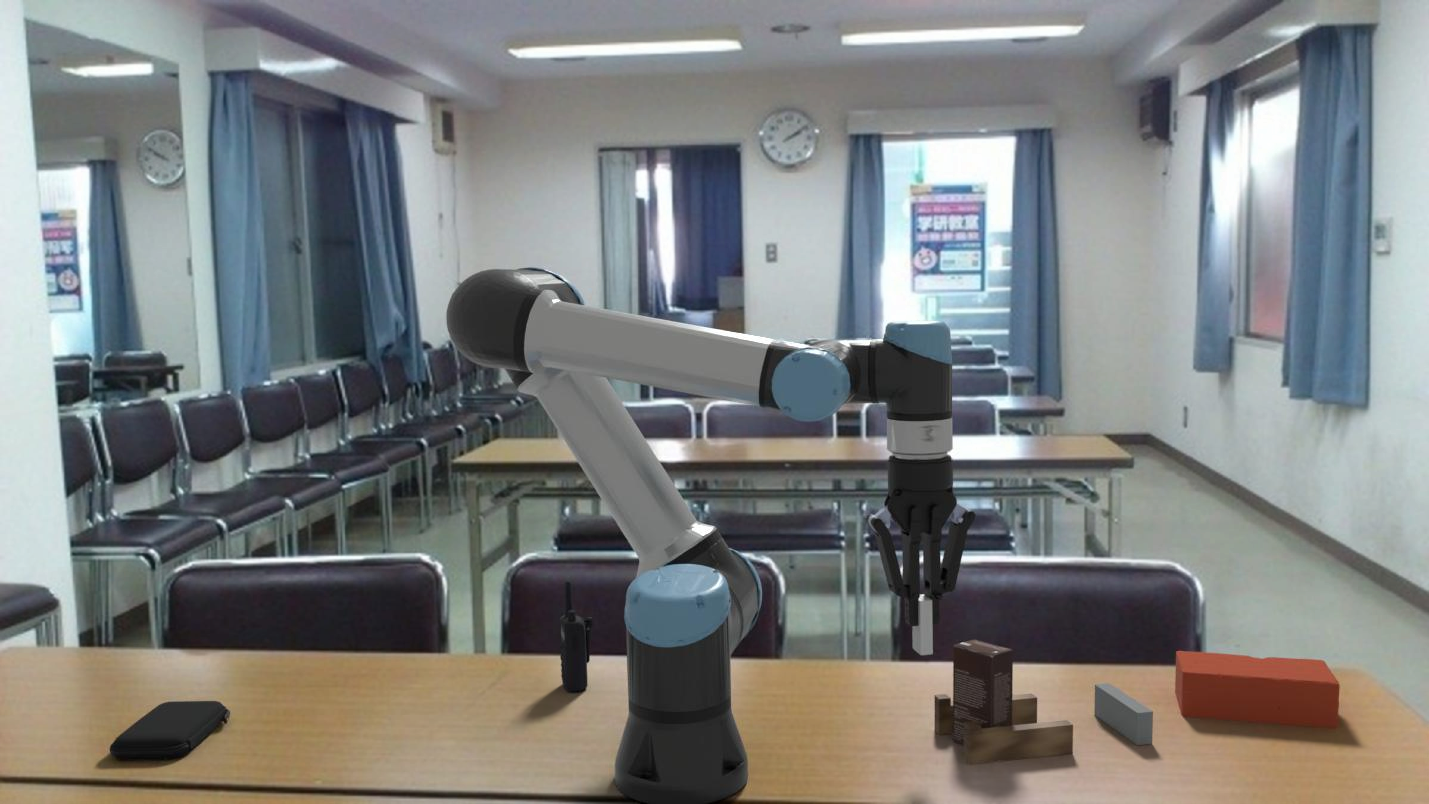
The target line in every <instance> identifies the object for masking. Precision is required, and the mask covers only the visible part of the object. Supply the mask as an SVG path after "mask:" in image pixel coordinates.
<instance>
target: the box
mask: <svg viewBox="0 0 1429 804" xmlns="http://www.w3.org/2000/svg"><path fill="white" fill-rule="evenodd" d="M952 651H953V654H952V656H953V657H952V658H953V659H952V660H953V661H952V663H953V666H952V667H953V668H952V669H953V670H952V671H953V672H952V675H953V676H952V677H953V679H952V680H953V681H952V689H953V690H952V693H953V694H952V697H953V698H952V701H953V733H952V740H953V741H954V742H957V743H959V744H963V745H964V722H970V721H977V722H978V723H979V724H980V725H981V729H983V728H993V727H1003V726H1012V695H1013V678H1014V677H1013V676H1014V675H1013V673H1014V672H1013V671H1014V669H1013V667H1014V664H1013V662H1014V661H1013V660H1014V657H1013V656H1014V655H1013V651H1014V650H1013V649H1012V648H1010V647H1009V648H1008V647H1004V646H1000V645H996V644H992V643H989V642H985V641H982V640H979V639H971V640H967V641H962V642H960V643H956V644H954V645H953V647H952Z"/></svg>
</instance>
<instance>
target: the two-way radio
mask: <svg viewBox="0 0 1429 804" xmlns="http://www.w3.org/2000/svg"><path fill="white" fill-rule="evenodd" d="M572 594H573V593H572V583H571V581H570V579H569V580H565V582H564V609H565V611H564V614H563V615H562V616H560V618H559V630H560V632H559V633H560V644H559V647H560V662H561V663H560V668H561V669H560V671H561V673H560V675H561V682H562V685H563V687H564V688H565V690H566V691H568V692H570V691H572V692H573V691H574V692H581V690H582V691H583V690H585V689H586V688H588V681H589V680H588V663H590V661H591V660H590V657H591V656H590V655H591V654H590V638H591V637H590V636H591V631H592V628H593V626H594V621H593V620H594V619H593V617H592V616H587V617H586V619H584V618H583V617H581V616H579V615H576V611H575V610H574V609H573V596H572ZM572 692H571V693H572Z"/></svg>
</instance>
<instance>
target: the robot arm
mask: <svg viewBox="0 0 1429 804" xmlns="http://www.w3.org/2000/svg"><path fill="white" fill-rule="evenodd" d="M445 313H446V315H445V316H446V317H445V320H446V328H447V332H448V334H449V335H448V336H449V338H450V339H451V342H452V343H453V345H454V347H455V348H456V349H457V351H458V352H459V353H460V354H461V355H462V356H463V357H465V358H466V359H468V360H469V361H470V362H471V363H474V364H476V365H479V366H482V367H485V368H490V369H504V371H505V372H506V374H507V376H508V377H509V378H510V380H511V382H512V383H513V385H514V386H515V388H516V389H517V391H518V392H519V393H520V394H521V393H522V394H525V395H529V396H533V397H535V398H537V400H538V401H539V402H540V404H541V406H542V408H543V409H544V411H545V413H547V415H548V417H549V418H550V420H551V421H552V423H553V425H554V426H555V428H556V429H557V431H558V433H559V435H560V436H561V437H562V439H563V441H564V443H565V444H566V445H567V447H568V449H569V450H570V452H571V453H572V455H573V456H574V458H575V460H576V461H577V463H578V464H579V466H580V468H581V469H582V471H583V472H584V474H585V476H586V477H587V479H588V480H589V482H590V484H591V485H592V486H593V489H595V491H596V494H598V496H599V497H600V499H601V501H602V502H603V503H604V505H605V507H606V509H607V510H608V512H609V513H610V514H611V516H612V518H613V519H614V521H615V523H616V524H617V526H618V528H619V529H620V531H621V532H622V533H623V536H624V537H625V538H626V539H627V542H628V544H629V545H630V547H631V548H632V549H633V552H634V553H635V555H636V556H637V557H638V558H637V559H638V561H639V563H638V567H637V572H636V577H635V579H633V580H632V582H631V583H630V585H629V586H628V588H627V590H626V595H625V606H624V615H623V619H624V624H625V637H626V638H625V639H626V640H625V641H626V643H625V644H626V667H627V669H626V670H627V695H628V717H627V720H626V722H625V726H624V728H623V729H624V730H623V732H622V736H621V740H620V743H619V746H618V749H617V752H616V756H615V760H614V780H615V786H616V787H617V789H618V790H619V791H620V792H621V793H622V794H623V795H625V796H626V797H629V798H631V799H633V800H635V801H638V802H640V803H641V802H642V803H645V804H710V803H714V802H719V801H721V800H723V799H727V798H728V797H730V796H733V795H734V794H737V792H739V791H740V790H742V788H744V786H745V785H746V783H747V782H748V780H749V779H748V778H749V765H748V763H749V761H748V760H749V759H748V756H747V755H748V754H747V751H746V748H745V746H744V742H743V740H742V737H741V733H740V732H739V728H738V726H737V723H736V720H735V717H734V714H733V711H732V680H731V679H732V678H731V677H732V675H731V673H732V672H731V671H732V670H731V667H732V666H731V658H732V657H731V656H732V654H733V652H734V651H735V649H736V648H737V647H738V646H739V644H740V642H741V641H742V640H743V639H744V638H745V637H746V636H747V635H748V634H749V633H750V632H751V630H752V629H754V628H753V627H754V626H755V624H756V623H757V620H758V616H759V612H760V610H761V608H762V607H761V606H762V601H763V599H762V598H763V588H762V583H761V579H760V577H759V576H760V575H759V573H758V572H757V569H756V568H755V566H754V565H753V563H752V562H751V561H750V560H749V559H748V558H747V557H746V556H745V555H743V553H740V551H737V550H735V549H733V548H730V547H729V546H728V544H727V543H726V541H725V540H724V538H723V536H722V535H721V533H720V532H719V530H718V529H717V527H716V526H715V525H711V524H706V523H702V522H700V521H697V518H696V517H695V515H694V514H693V512H692V510H691V509H690V508H689V506H688V505H687V503H686V501H685V500H684V498H683V497H682V494H681V493H680V491H679V490H678V488H677V486H675V484H674V482H673V481H672V479H671V477H670V476H669V474H668V473H667V471H666V469H665V468H664V466H663V465H662V464H661V461H660V460H659V459H658V457H657V455H656V454H655V453H654V451H653V449H652V447H651V446H650V445H649V443H648V441H647V440H646V439H645V436H644V435H643V433H642V432H641V430H640V429H639V427H638V426H637V424H636V422H635V421H634V419H633V417H632V416H631V414H630V412H628V410H627V408H626V407H625V405H624V404H623V402H622V401H621V399H620V398H619V396H618V394H617V392H616V390H615V389H614V388H613V386H612V384H611V383H610V381H609V380H608V379H611V380H616V381H622V382H625V383H626V382H627V383H633V384H638V385H643V386H647V387H653V388H658V389H663V390H671V391H675V392H680V393H686V394H689V395H690V394H691V395H695V396H701V397H706V398H713V399H719V400H722V401H728V402H734V403H739V404H742V405H743V404H744V405H751V406H755V407H761V408H763V409H764V408H765V409H768V410H771V411H777V412H782V413H784V414H785V415H787V416H788V417H790V418H791V419H794V420H796V421H800V422H817V421H818V422H819V421H822V420H825V419H828V418H829V417H830V416H833V415H834V414H836V413H837V412H839V410H840V409H841V408H842V407H843V406H844V405H850V404H851V405H853V404H876V405H877V404H885V406H886V450H887V451H888V452H889V453H891V454H890V455H889V456H888V458H887V490H888V491H887V496H886V498H885V500H884V504H883V505H884V506H883V508H881V509H880V510H879V511H878V512H875V514H871V513H870V514H867V515H866V518H865V522H866V523H867V524H868V526H869V528H870V529H871V530H872V532H873V533H874V536H875V541H876V544H877V548H878V552H879V555H880V556H879V557H880V560H881V563H882V567H883V570H884V575H885V580H886V584H887V586H888V589H889V591H891V592H892V593H893V594H895V595H896V596H897V597H902V598H904V620H905V623H906V624H907V625H908V626H910V627H911V628H912V629H911V630H912V635H911V636H912V649H913V650H914V651H915V653H917V654H918V655H920V656H928V655H930V656H931V655H933V654H934V649H933V648H934V646H933V645H934V642H933V641H934V640H933V637H934V636H933V627H934V626H933V625H938V624H939V622H940V619H941V617H940V601H941V600H942V599H944V598H943V597H944V595H945V594H946V593H948V592H949V593H952V592H954V590H955V589H956V586H957V585H956V584H957V581H958V577H959V572H960V567H961V562H962V558H963V553H964V549H965V546H966V545H965V543H966V539H967V536H968V531H969V529H970V528H971V526H972V525H973V523H974V521H975V519H976V513H975V511H973V510H971V509H969V508H966V507H965V506H964V507H963V506H962V505H960V504H959V503H958V500H957V496H956V495H955V494H954V493H955V492H954V490H953V487H954V459H953V457H952V456H951V455H950V454H948V453H950V452H952V451H953V444H954V442H953V441H954V439H953V357H952V356H953V355H952V354H953V352H952V339H951V337H952V336H951V329H950V327H949V326H948V325H947V324H946V323H945V322H943V321H941V320H940V321H939V320H907V321H906V320H903V321H902V320H899V321H891V322H888V323H887V324H886V325H885V331H884V334H883V337H882V338H876V339H875V338H873V339H817V338H810V339H805V340H794V341H785V340H778V339H772V338H767V337H762V336H755V335H751V334H745V333H740V332H734V331H733V332H732V331H728V330H724V329H717V328H711V327H708V326H707V327H705V326H701V325H695V324H690V323H689V324H688V323H685V322H677V321H674V320H673V321H672V320H666V319H662V318H658V317H657V318H656V317H650V316H644V315H639V314H634V313H628V312H621V311H617V310H611V309H606V308H600V307H594V306H589V305H586V304H585V300H584V299H583V296H582V294H581V293H580V291H579V289H577V287H576V286H575V285H574V284H573V283H572V282H571V281H570V280H568V278H566V277H564V276H563V275H561V274H560V273H559V274H558V273H557V272H554V271H551V270H547V269H546V268H540V267H539V268H538V267H532V266H531V267H530V266H529V267H522V268H521V267H520V268H515V269H510V268H509V269H505V268H504V269H502V268H501V269H500V268H493V269H491V268H490V269H486V270H485V269H484V270H481V271H479V272H475V273H474V274H471V275H469V276H468V277H466V279H463V280H462V282H461V283H459V284H458V286H457V287H456V288H455V290H454V292H452V294H451V297H450V299H449V301H448V304H447V308H446V312H445ZM890 518H892V520H893V521H894V523H895V524H896V525H897V526H898V528H899V529H900V537H901V538H900V539H901V541H902V546H901V547H902V548H901V549H902V551H901V552H902V553H901V554H902V571H901V569H900V564H899V561H898V557H897V552H896V549H895V546H894V540H893V537H892V534H891V533H890V532H891V531H890V530H889V529H890V527H891V520H890ZM949 518H950V520H951V523H950V525H949V528H948V533H947V537H946V542H945V547H944V552H943V557H942V560H941V542H942V540H943V536H942V535H943V534H942V533H943V532H942V529H943V528H944V525H945V524H946V522H947V521H948V519H949ZM921 541H922V551H923V552H922V557H923V558H922V560H923V562H922V563H923V564H922V565H923V566H922V567H923V569H922V571H923V591H924V593H923V594H921V580H920V579H921V575H920V574H921V573H920V572H921V571H920V569H921V566H920V564H921V563H920V562H921V561H920V560H921V559H920V555H921V554H920V544H921Z"/></svg>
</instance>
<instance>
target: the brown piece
mask: <svg viewBox="0 0 1429 804" xmlns="http://www.w3.org/2000/svg"><path fill="white" fill-rule="evenodd" d="M934 731H935V732H936V733H937V734H938V735H947V734H953V700H952V699H951V697H950V696H949V695H948V694H946V693H943V694H942V693H941V694H934ZM1073 748H1074V724H1073V723H1071V722H1070V721H1069V720H1068V719H1063V720H1053V721H1045V722H1038V697H1037V696H1036V695H1035V694H1033V693H1023V694H1021V693H1020V694H1012V726H1003V727H993V728H983V729H981V725H980V724H979V723H978V722H977V721H970V722H964V744H963V760H964V761H965V762H966V763H967V765H976V764H984V763H994V762H1004V761H1014V760H1022V759H1031V758H1042V757H1052V756H1060V755H1061V756H1062V755H1070V754H1073V752H1074V750H1073Z"/></svg>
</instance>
